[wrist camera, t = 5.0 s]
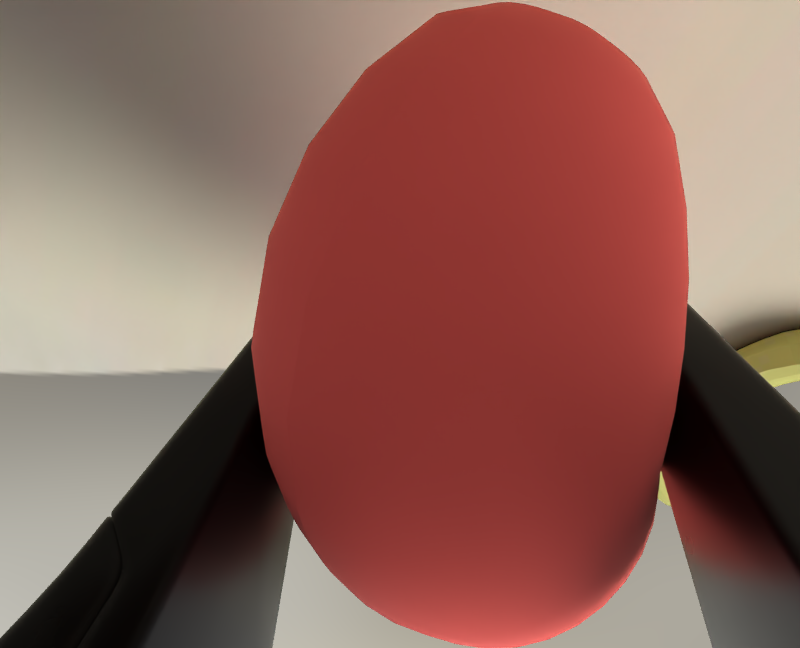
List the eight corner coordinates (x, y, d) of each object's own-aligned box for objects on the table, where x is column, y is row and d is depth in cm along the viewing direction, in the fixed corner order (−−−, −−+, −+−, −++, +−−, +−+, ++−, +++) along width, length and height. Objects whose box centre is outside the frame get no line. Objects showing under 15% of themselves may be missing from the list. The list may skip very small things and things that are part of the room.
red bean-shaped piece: (280, 353, 14) (372, 672, 12) (80, 16, 5) (280, 943, 3) (511, 279, 14) (639, 573, 12) (658, -134, 6) (1147, 586, 4)
